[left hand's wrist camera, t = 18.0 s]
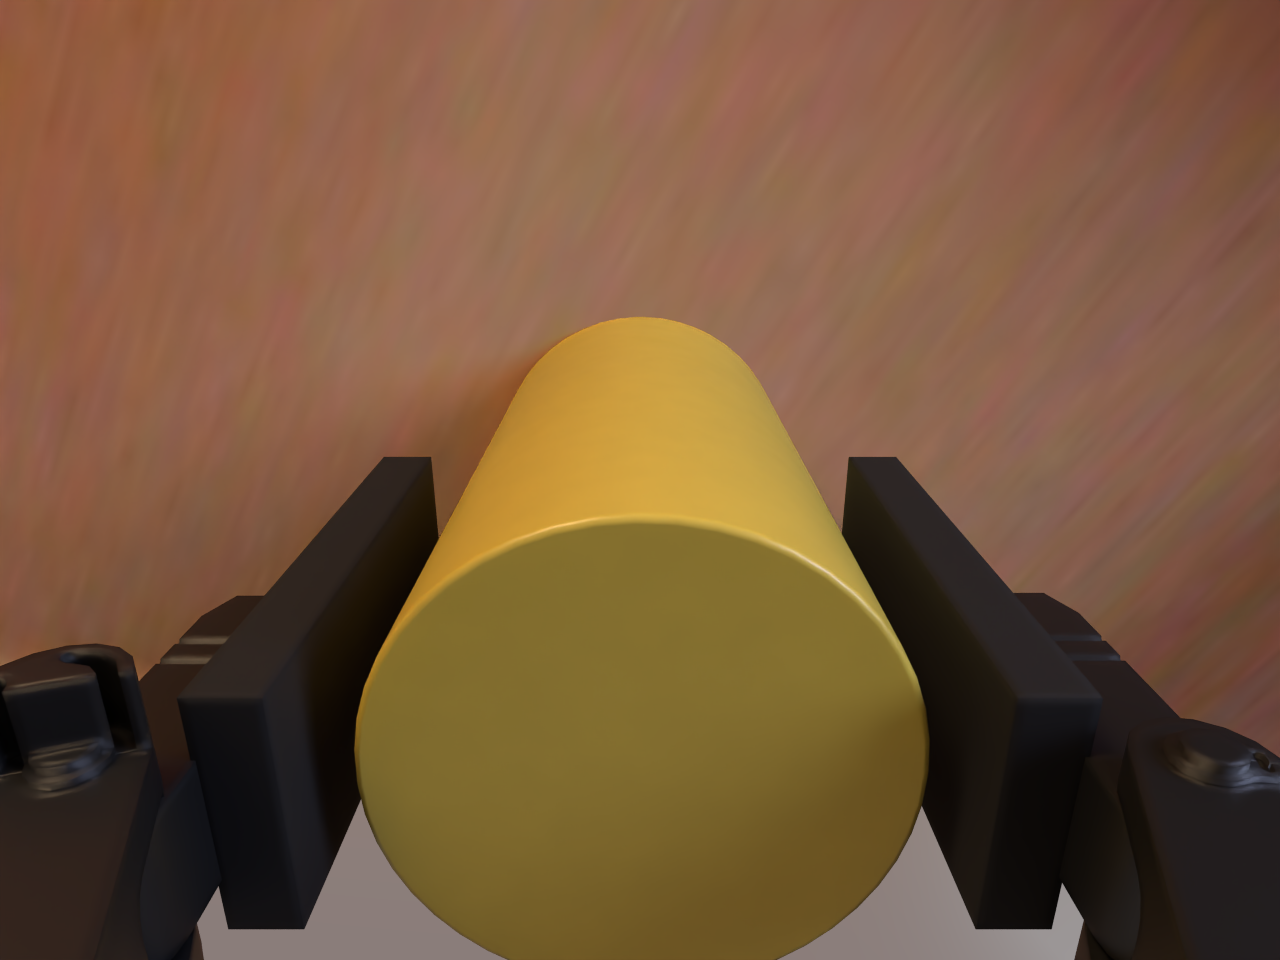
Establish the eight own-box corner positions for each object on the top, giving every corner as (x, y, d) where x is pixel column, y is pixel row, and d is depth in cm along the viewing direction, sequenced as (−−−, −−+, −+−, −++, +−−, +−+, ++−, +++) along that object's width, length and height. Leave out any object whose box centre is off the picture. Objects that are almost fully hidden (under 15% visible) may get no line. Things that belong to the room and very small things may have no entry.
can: (598, 617, 20) (558, 1058, 10) (450, 408, 18) (228, 698, 8) (824, 495, 19) (1023, 857, 9) (690, 260, 17) (758, 396, 7)
